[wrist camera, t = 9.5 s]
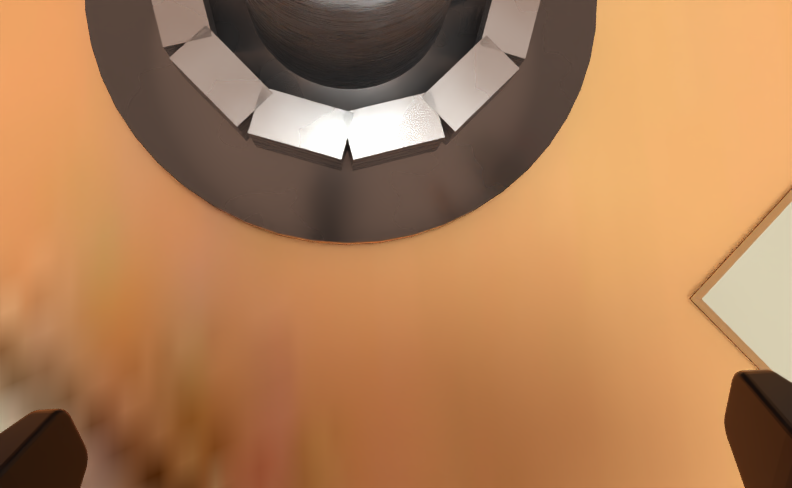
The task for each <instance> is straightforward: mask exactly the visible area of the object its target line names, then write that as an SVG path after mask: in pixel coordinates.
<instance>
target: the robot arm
mask: <svg viewBox="0 0 792 488" xmlns="http://www.w3.org/2000/svg"><path fill="white" fill-rule="evenodd" d="M724 424H725V431H726V435H727V438H728V441H729V444H730V447H731V450H732V452H733V455H734V458H735V461H736V464H737V467H738V470H739V472H740V475H741V478H742V481H743V484H744V487H745V488H792V382H790V381H789V380H787V379H786V378H784V377H782V376H781V375H779V374H778V373H776V372H774V371H771V370H766V369H763V370H744V371H739V372H737V373H736V374H735V375H734V377H733V379H732V383H731V388H730V393H729V398H728V403H727V407H726V412H725V419H724ZM87 460H88V456H87V449H86V447H85V445H84V443H83V441H82V439H81V437H80V435H79V432H78V430H77V428H76V426H75V424H74V422H73V420H72V418H71V416H70V415H69V413H68V412H66V411H65V410H63V409H45V410H36V411H33V412H31V413H29V414H28V415H26V416H25V417H23V418H22V419H20V420H19V421H18V422H16V423H15V424H13V425H12V426H10V427H9V428H7V429H6V430H5V431H3V432H2V433H0V488H80V487H81V483H82V480H83V477H84V474H85V471H86V467H87Z"/></svg>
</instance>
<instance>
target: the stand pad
mask: <svg viewBox="0 0 792 488" xmlns="http://www.w3.org/2000/svg"><path fill="white" fill-rule="evenodd" d="M690 299H691V300H692V301H693V302H694V303H695V304H696V305H697V306H698V307H699V308H700V309H701V310H702V311H703V312H704V313H705V314H706V315H707V316H708V317H709V318H710V319H711V320H712V321H713V322H714V323H715V324H716V325H717V326H718V327H719V328H720V329H721V330H722V332H723V333H724V334H725V335H726V336H727V337H728V338H729V339H730V340H731V341H732V342H733V343H734V344H735V345H736V346H737V347H738V348H739V349H740V350H741V351H742V352H743V353H744V354H745V355H746V356H747V357H748V358H749V359H750V360H751V361H752V362H753V363H754V364H755V365H756V366H757V367H758V368H759V369H760V370H763V369H766V370H771V371H774V372H776V373H778V374H779V375H781V376H782V377H784V378H786V379H787V380H789V381H790V382H792V189H791V190H790V192H789V193H788V194H787V195H786V196H785V197H784V198H783V199H782V200H781V201H780V202H779V203H778V204H777V206H776V207H775V208H774V209H773V210H772V211H771V212H770V213H769V214H768V215H767V216H766V217H765V219H764V220H763V221H762V222H761V223H760V224H759V225H758V226H757V227H756V228H755V229H754V230H753V231H752V233H751V234H750V235H749V236H748V237H747V238H746V239H745V240H744V241H743V242H742V243H741V244H740V246H739V247H738V248H737V249H736V250H735V251H734V252H733V253H732V254H731V255H730V256H729V257H728V258H727V260H726V261H725V262H724V263H723V264H722V265H721V266H720V267H719V268H718V269H717V270H716V271H715V272H714V274H713V275H712V276H711V277H710V278H709V279H708V280H707V281H706V282H705V283H704V284H703V285H702V287H701V288H700V289H699V290H698V291H697V292H696V293H695V294H694V295H693V296H692V297H691V298H690Z"/></svg>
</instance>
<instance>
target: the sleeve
mask: <svg viewBox="0 0 792 488" xmlns="http://www.w3.org/2000/svg"><path fill="white" fill-rule="evenodd" d="M244 1H245V3H246V6H247V9H248V12H249V15H250V17H251V20H252V23H253V25H254V28H255V30H256V32H257V34H258V36H259V38H260V39H261V41H262V42H263V44H264V45H265V47H266V48H267V49H268V51H269V52H270V53H271V54H272V55H273V56H274V57H275V58H276V59H277V61H279V62H280V63H281V64H282V65H283V66H285V67H286V68H287V69H288V70H290V71H292V72H293V73H295V74H296V75H298V76H300V77H302V78H304V79H306V80H308V81H310V82H313V83H316V84H319V85H322V86H326V87H332V88H337V89H362V88H368V87H373V86H378V85H380V84H383V83H386V82H389V81H391V80H393V79H395V78H397V77H399V76H401V75H403V74H404V73H406V72H407V71H408V70H410V69H411V68H413V67H414V66H415V65H416V64H417V63H418V62H419V61H420V60H421V59H422V58H423V57H424V56H425V55H426V54H427V52H428V51H429V50H430V48H431V47H432V45H433V44H434V42H435V41H436V39H437V37H438V34H439V32H440V30H441V28H442V25H443V22H444V19H445V17H446V14H447V11H448V8H449V5H450V3H451V0H244Z"/></svg>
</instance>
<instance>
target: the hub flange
mask: <svg viewBox="0 0 792 488" xmlns="http://www.w3.org/2000/svg"><path fill="white" fill-rule="evenodd" d="M596 6H597V0H451V3H450V5H449V8H448V11H447V14H446V17H445V19H444V22H443V25H442V28H441V30H440V32H439V34H438V37H437V39H436V41H435V42H434V44H433V45H432V47H431V48H430V50H429V51H428V52H427V54H426V55H425V56H424V57H423V58H422V59H421V60H420V61H419V62H418V63H417V64H416V65H415V66H414V67H413V68H411V69H410V70H408V71H407V72H406V73H404V74H403V75H401V76H399V77H397V78H395V79H393V80H391V81H389V82H386V83H383V84H380V85H378V86H373V87H368V88H362V89H337V88H332V87H326V86H322V85H319V84H316V83H313V82H310V81H308V80H306V79H304V78H302V77H300V76H298V75H296V74H295V73H293V72H292V71H290V70H288V69H287V68H286V67H285V66H283V65H282V64H281V63H280V62H279V61H277V59H276V58H275V57H274V56H273V55H272V54H271V53H270V52H269V51H268V49H267V48H266V47H265V45H264V44H263V42H262V41H261V39H260V38H259V36H258V34H257V32H256V30H255V28H254V25H253V23H252V20H251V17H250V15H249V12H248V9H247V6H246V3H245V1H244V0H85V11H86V17H87V23H88V29H89V35H90V41H91V45H92V48H93V52H94V55H95V58H96V61H97V64H98V67H99V71H100V74H101V77H102V79H103V81H104V83H105V85H106V87H107V89H108V91H109V94H110V96H111V98H112V100H113V102H114V104H115V106H116V108H117V110H118V111H119V113H120V114H121V116H122V117H123V119H124V120H125V122H126V123H127V125H128V126H129V128H130V129H131V131H132V132H133V134H134V136H135V137H136V138H137V139H138V140H139V142H140V143H141V144H142V145H143V146H144V147H145V148H146V150H147V151H148V152H149V153H150V154H151V155H152V157H153V158H154V159H155V160H156V161H157V162H158V163H159V164H160V165H161V166H162V167H163V168H164V169H165V170H167V171H168V172H169V173H170V174H171V175H172V176H173V177H175V178H176V179H177V180H178V181H179V182H180V183H181V184H182V185H184V186H185V187H186V188H188V189H189V190H191V191H192V192H194V193H195V194H197V195H198V196H200V197H201V198H203V199H204V200H206V201H207V202H209V203H210V204H212V205H213V206H215V207H216V208H218V209H219V210H221V211H223V212H225V213H227V214H229V215H231V216H233V217H235V218H237V219H239V220H241V221H243V222H245V223H247V224H249V225H252V226H255V227H258V228H261V229H264V230H267V231H269V232H272V233H275V234H278V235H281V236H286V237H291V238H296V239H301V240H305V241H310V242H318V243H332V244H345V245H348V244H366V243H380V242H386V241H391V240H396V239H402V238H407V237H412V236H415V235H418V234H421V233H424V232H427V231H430V230H433V229H436V228H439V227H442V226H444V225H446V224H448V223H450V222H452V221H454V220H456V219H458V218H461V217H463V216H465V215H467V214H469V213H471V212H472V211H474V210H475V209H477V208H478V207H480V206H481V205H483V204H484V203H486V202H488V201H489V200H491V199H492V198H494V197H495V196H497V195H498V194H500V193H501V192H503V191H504V190H505V189H506V188H507V187H509V186H510V185H511V184H512V183H513V182H514V181H515V180H517V179H518V178H519V177H520V176H521V175H522V174H523V173H525V172H526V171H527V170H528V169H529V168H530V167H531V165H532V164H533V163H534V162H535V161H536V160H537V159H538V157H539V156H540V155H541V154H542V153H543V152H544V151H545V149H546V148H547V147H548V146H549V145H550V143H551V142H552V140H553V139H554V137H555V136H556V134H557V133H558V131H559V129H560V128H561V126H562V125H563V123H564V122H565V120H566V119H567V117H568V115H569V113H570V111H571V108H572V106H573V104H574V102H575V100H576V98H577V96H578V94H579V92H580V90H581V86H582V83H583V80H584V77H585V74H586V71H587V68H588V65H589V61H590V57H591V52H592V46H593V40H594V35H595V29H596Z"/></svg>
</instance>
